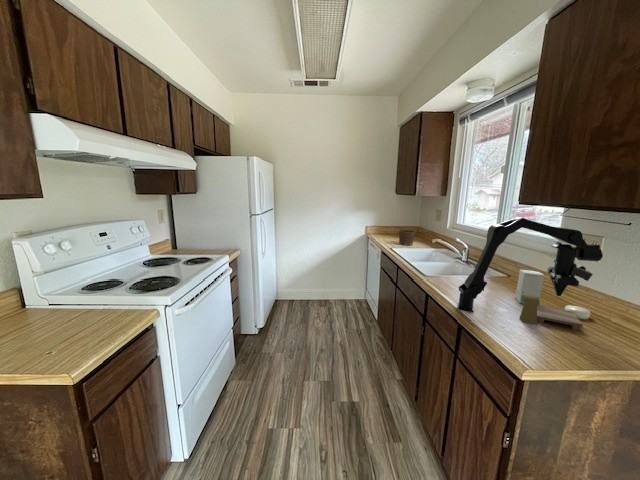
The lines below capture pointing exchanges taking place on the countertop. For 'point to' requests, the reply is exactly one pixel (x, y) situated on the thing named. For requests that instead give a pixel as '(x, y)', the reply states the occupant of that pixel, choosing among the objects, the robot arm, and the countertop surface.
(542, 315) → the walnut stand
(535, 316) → the olive pestle
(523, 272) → the skincare box
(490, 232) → the robot arm
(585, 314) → the white rounded piece
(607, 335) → the countertop surface
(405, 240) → the plant pot
